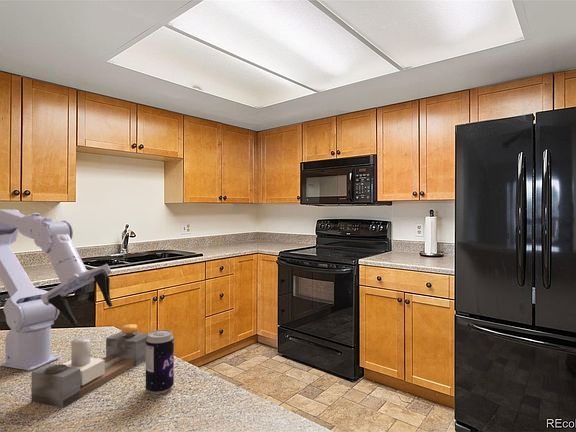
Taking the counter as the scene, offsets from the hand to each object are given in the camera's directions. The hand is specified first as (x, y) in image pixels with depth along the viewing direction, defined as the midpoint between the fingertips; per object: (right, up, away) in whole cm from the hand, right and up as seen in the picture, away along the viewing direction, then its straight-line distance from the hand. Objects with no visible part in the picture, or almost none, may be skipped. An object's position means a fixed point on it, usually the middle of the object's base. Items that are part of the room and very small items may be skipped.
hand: (92, 314), depth 80 cm
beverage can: (+16, -15, -3) cm, 22 cm away
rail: (0, -15, +2) cm, 15 cm away
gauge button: (+3, -9, +12) cm, 16 cm away
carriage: (-1, -13, -2) cm, 13 cm away
